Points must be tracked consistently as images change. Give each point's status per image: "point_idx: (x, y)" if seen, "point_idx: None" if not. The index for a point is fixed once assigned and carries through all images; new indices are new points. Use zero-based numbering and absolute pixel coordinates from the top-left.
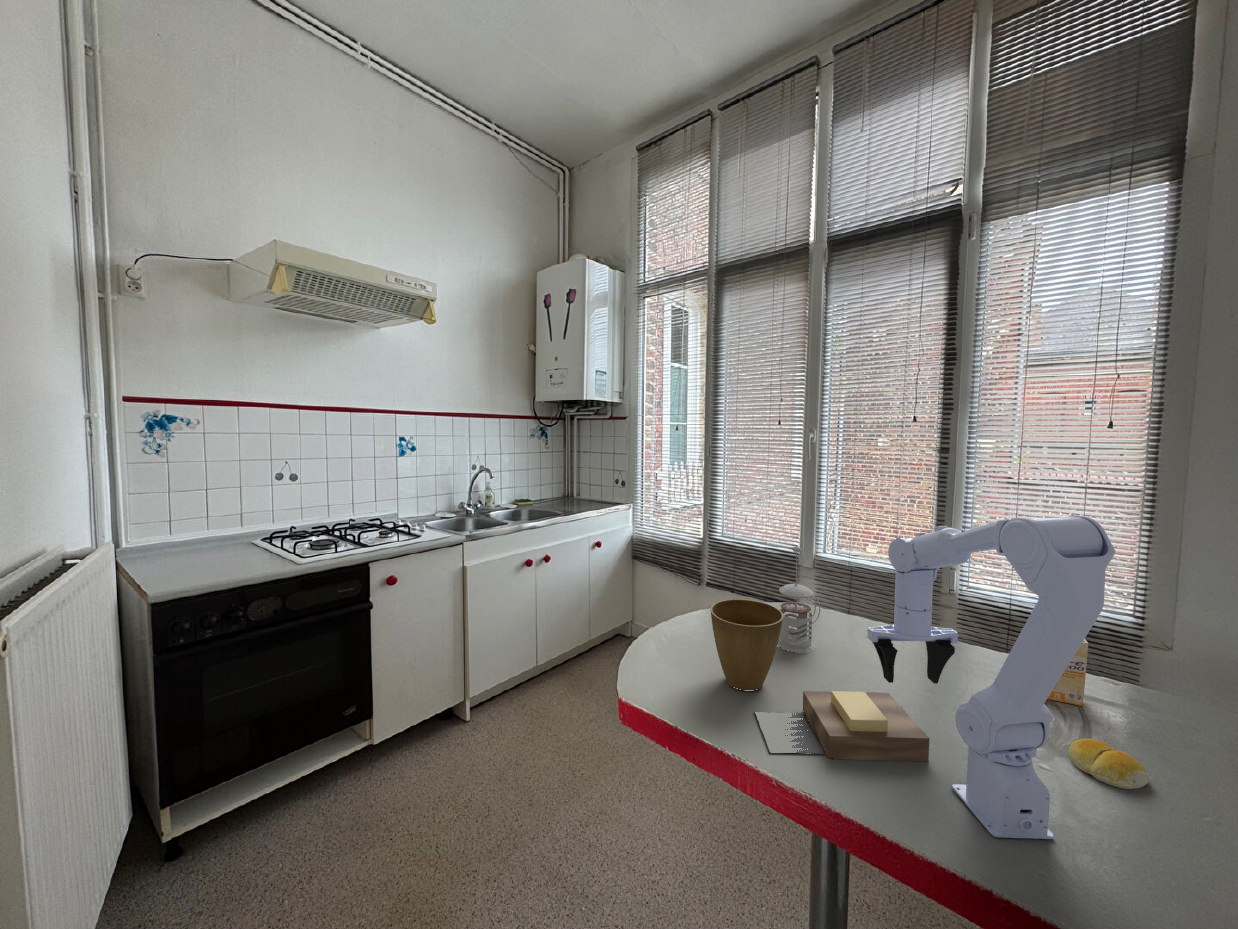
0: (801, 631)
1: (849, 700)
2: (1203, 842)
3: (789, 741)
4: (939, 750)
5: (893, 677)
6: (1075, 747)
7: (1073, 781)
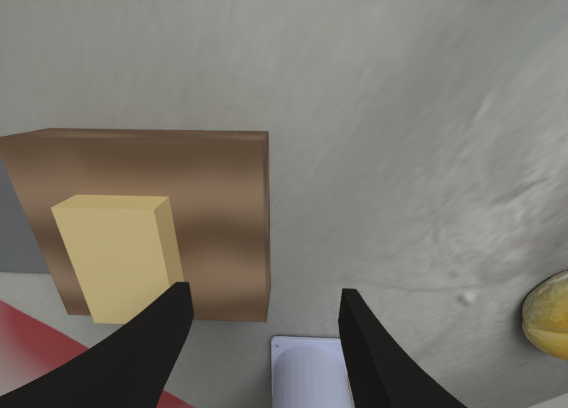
0: None
1: (100, 254)
2: (515, 400)
3: (26, 245)
4: (309, 260)
5: (185, 338)
6: (564, 309)
7: (477, 324)
